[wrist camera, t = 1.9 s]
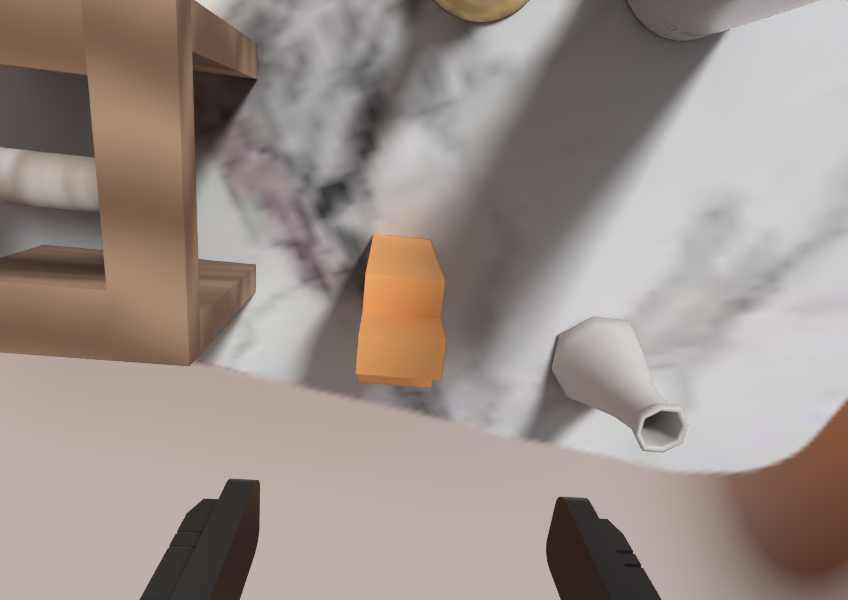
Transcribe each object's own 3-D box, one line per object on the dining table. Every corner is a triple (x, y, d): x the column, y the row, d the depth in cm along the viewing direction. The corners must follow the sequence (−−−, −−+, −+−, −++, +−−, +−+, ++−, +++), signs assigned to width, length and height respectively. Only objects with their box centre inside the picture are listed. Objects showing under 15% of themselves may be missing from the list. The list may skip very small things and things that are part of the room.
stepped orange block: (373, 233, 34) (361, 291, 21) (430, 239, 35) (452, 300, 22) (366, 314, 36) (352, 412, 23) (420, 319, 36) (436, 417, 24)
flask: (554, 406, 40) (606, 491, 30) (545, 324, 37) (597, 388, 28) (642, 389, 40) (722, 468, 30) (638, 306, 37) (723, 363, 28)
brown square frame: (13, 11, 29) (-234, -71, 17) (257, 43, 30) (175, -13, 19) (47, 273, 34) (-130, 342, 22) (255, 291, 35) (189, 366, 24)
